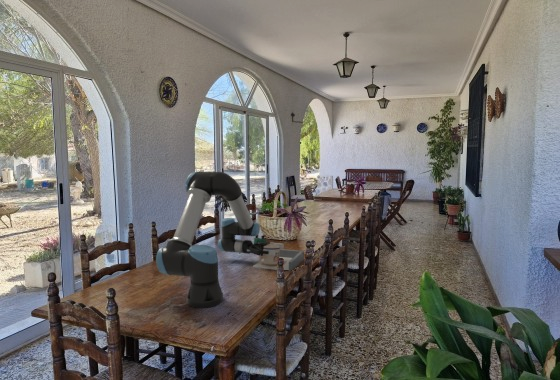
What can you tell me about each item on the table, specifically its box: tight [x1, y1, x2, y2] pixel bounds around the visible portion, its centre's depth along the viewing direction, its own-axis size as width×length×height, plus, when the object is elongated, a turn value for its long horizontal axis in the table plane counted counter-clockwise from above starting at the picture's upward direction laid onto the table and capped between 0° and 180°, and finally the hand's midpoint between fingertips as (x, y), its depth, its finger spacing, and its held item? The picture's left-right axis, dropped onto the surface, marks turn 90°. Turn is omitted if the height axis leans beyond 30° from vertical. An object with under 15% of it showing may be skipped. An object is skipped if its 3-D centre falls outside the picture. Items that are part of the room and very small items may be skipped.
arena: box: [252, 248, 305, 272], centre depth 212 cm, size 22×22×5 cm
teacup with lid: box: [263, 241, 280, 265], centre depth 209 cm, size 12×9×12 cm
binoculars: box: [253, 234, 267, 250], centre depth 239 cm, size 9×11×10 cm
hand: (279, 249), depth 208 cm, fingers open, 13 cm apart
